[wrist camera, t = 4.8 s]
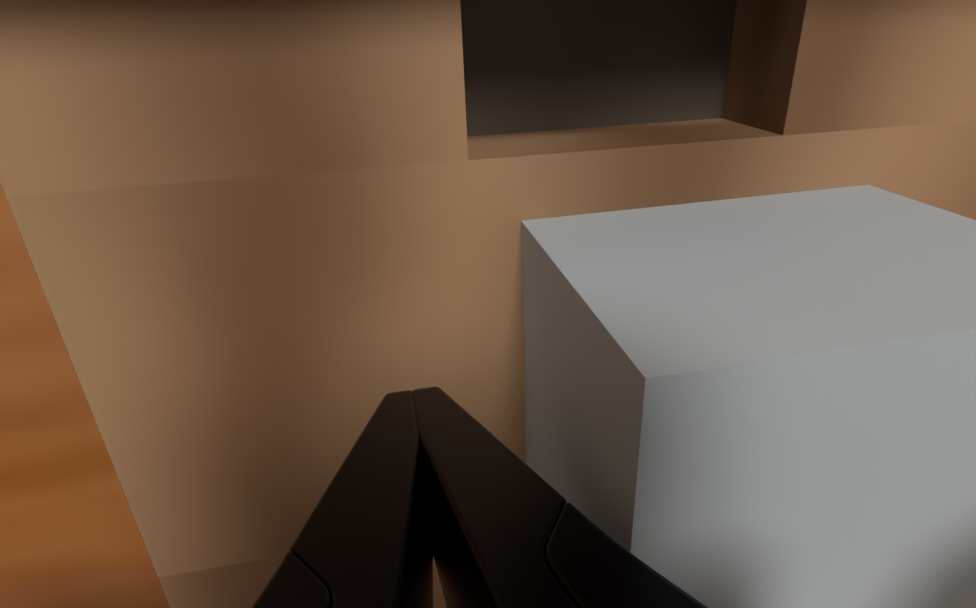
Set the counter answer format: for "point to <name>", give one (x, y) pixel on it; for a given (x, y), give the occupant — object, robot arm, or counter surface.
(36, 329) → the counter surface
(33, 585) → the counter surface
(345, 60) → the wooden tray
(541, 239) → the block
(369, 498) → the robot arm
